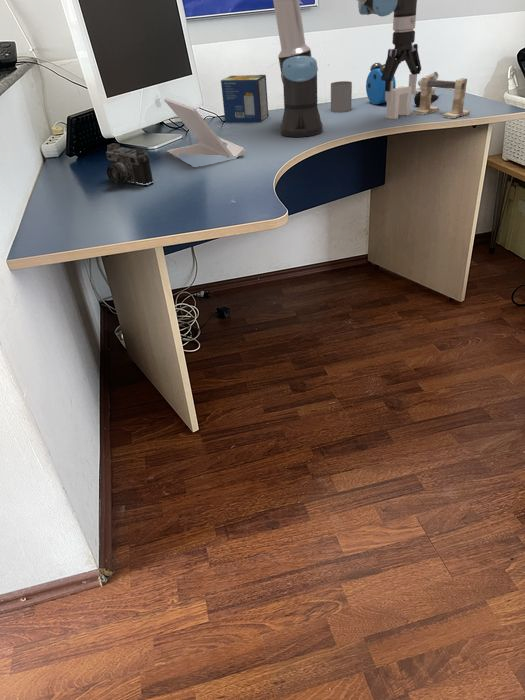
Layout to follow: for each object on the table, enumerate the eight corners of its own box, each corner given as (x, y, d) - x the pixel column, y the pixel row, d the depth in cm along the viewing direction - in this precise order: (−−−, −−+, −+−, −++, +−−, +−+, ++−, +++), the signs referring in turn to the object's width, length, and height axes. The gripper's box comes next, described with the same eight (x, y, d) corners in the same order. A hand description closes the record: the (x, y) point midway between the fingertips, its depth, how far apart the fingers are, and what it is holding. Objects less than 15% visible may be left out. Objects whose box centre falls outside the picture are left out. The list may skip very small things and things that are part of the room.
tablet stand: (194, 169, 161) (186, 109, 152) (166, 153, 180) (157, 98, 170) (246, 157, 168) (241, 99, 158) (214, 143, 186) (207, 90, 176)
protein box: (234, 116, 220) (230, 75, 211) (269, 116, 215) (266, 74, 206) (224, 122, 212) (219, 79, 203) (260, 122, 207) (256, 79, 198)
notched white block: (394, 119, 195) (396, 91, 189) (385, 118, 197) (387, 90, 192) (409, 114, 199) (411, 87, 194) (400, 113, 202) (402, 86, 196)
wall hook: (431, 73, 215) (411, 72, 222) (429, 98, 221) (409, 96, 227) (444, 70, 219) (423, 69, 226) (441, 95, 225) (421, 93, 231)
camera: (95, 184, 156) (86, 148, 150) (120, 175, 161) (112, 141, 155) (133, 193, 146) (125, 156, 140) (158, 183, 151) (151, 147, 146)
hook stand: (453, 119, 188) (458, 82, 182) (412, 113, 200) (414, 78, 193) (469, 113, 193) (474, 77, 186) (427, 108, 205) (431, 74, 198)
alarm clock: (394, 105, 215) (397, 63, 207) (382, 107, 214) (384, 65, 205) (376, 100, 225) (378, 61, 217) (364, 102, 224) (365, 62, 215)
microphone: (432, 106, 223) (412, 109, 210) (430, 91, 222) (410, 93, 208) (445, 102, 220) (426, 105, 206) (443, 87, 218) (423, 89, 204)
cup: (328, 112, 213) (328, 85, 207) (332, 108, 219) (332, 81, 214) (349, 112, 210) (350, 84, 205) (352, 107, 217) (353, 80, 211)
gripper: (389, 35, 174) (387, 104, 186) (434, 25, 186) (429, 91, 198) (372, 35, 179) (370, 103, 191) (416, 26, 191) (412, 90, 203)
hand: (400, 97), depth 195 cm, fingers open, 13 cm apart
